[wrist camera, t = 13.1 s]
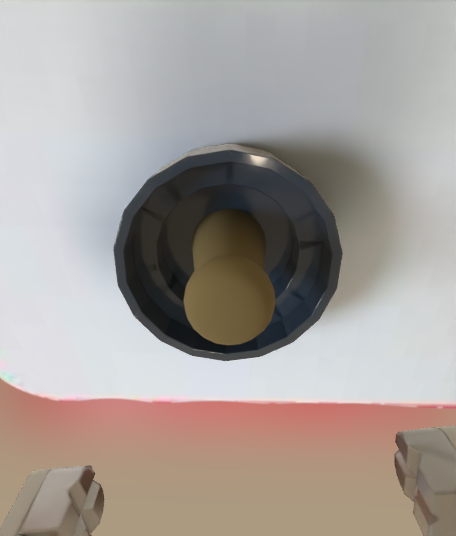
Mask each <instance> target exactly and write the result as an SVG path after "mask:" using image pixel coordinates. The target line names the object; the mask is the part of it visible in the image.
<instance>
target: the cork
mask: <svg viewBox="0 0 456 536" xmlns="http://www.w3.org/2000/svg"><path fill="white" fill-rule="evenodd" d="M192 251H193V261H194V270H195V271H194V272H193V274H192V276H191V277H190V279H189V281H188V283H187V285H186V289H185V295H184V306H185V311H186V316H187V319H188V320H189V322H190V324H191V325H192V327H193V329H194V330H196V331H197V332H198V333H199V334H200V335H201V336H202V337H204V338H205V339H207V340H210V341H212V342H214V343H216V344H222V345H238V344H242V343H245V342H247V341H250V340H252V339H253V338H255V337H256V336H257V335H259V334H260V333H261V332H263V331H264V330H265V328H266V327H267V325H268V324H269V323H270V321H271V319H272V315H273V312H274V308H275V291H274V288H273V285H272V283H271V281H270V279H269V277H268V275H267V274H266V273H265V272H264V264H265V252H266V240H265V234H264V232H263V229H262V227H261V225H260V224H259V223H258V222H257V221H256V219H255V218H254V217H253V216H251V215H249V214H247V213H246V212H244V211H241V210H236V209H231V208H230V209H221V210H217V211H215V212H212V213H210V214H208V215H207V216H206V217H205V218H203V219H202V220H201V221H200V222H199V223H198V225H197V227H196V229H195V231H194V233H193V239H192Z"/></svg>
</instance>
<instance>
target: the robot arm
mask: <svg viewBox="0 0 456 536" xmlns="http://www.w3.org/2000/svg"><path fill="white" fill-rule="evenodd" d="M395 442H396V444H397V446H398V448H399V450H398V451H397V452H396V453H395V468H396V473H397V477H398V479H399V482H400V485H401V487H402V490H403V492H404V494H405V495H406V496H407V497H409V498H410V499H411V500H412V501H414V510H413V514H414V516H415V518H416V520H417V522H418V525H419V527H420V529H421V531H422V533H423V535H424V536H456V426H447V427H440V428H437V427H433V428H426V429H417V430H409V431H401V432H398V433H397V434H396V441H395ZM94 475H95V472H94V470H93V468H92V467H91V466H79V467H66V468H54V469H43V470H34V472H32V473H31V474H30V475H29V476H28V478H27V480H26V482H25V484H24V485H23V487H22V489H21V491H20V493H19V494H18V496H17V498H16V500H15V502H14V504H13V505H12V507H11V509H10V511H9V513H8V515H7V517H6V518H5V520H4V522H3V524H2V526H1V528H0V536H91V533H92V532H93V530H94V529H95V528H96V527H97V526H98V525H99V523H100V520H101V517H102V513H103V507H104V494H103V490H102V487H101V485H100V484H99V483H97V482H96V481H94V480H93V478H94Z"/></svg>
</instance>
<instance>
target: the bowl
mask: <svg viewBox="0 0 456 536" xmlns="http://www.w3.org/2000/svg"><path fill="white" fill-rule="evenodd" d="M230 208H231V209H236V210H241V211H244V212H246V213H247V214H249V215H251V216H253V217H254V218H255V219H256V221H257V222H258V223H259V224H260V225H261V227H262V229H263V232H264V234H265V240H266V252H265V264H264V272H265V273H266V274H267V275H268V277H269V279H270V281H271V283H272V285H273V288H274V291H275V308H274V312H273V315H272V319H271V321H270V323H269V324H268V325H267V327H266V328H265V330H264V331H263V332H261V333H260V334H259V335H257V336H256V337H255V338H253V339H252V340H250V341H247V342H245V343H242V344H238V345H222V344H216V343H214V342H212V341H210V340H207V339H205V338H204V337H202V336H201V335H200V334H199V333H198V332H197V331H196V330H194V329H193V327H192V325H191V324H190V322H189V320H188V319H187V316H186V311H185V306H184V295H185V289H186V285H187V283H188V281H189V279H190V277H191V276H192V274H193V272H194V271H195V270H194V261H193V251H192V239H193V233H194V231H195V229H196V227H197V225H198V223H199V222H200V221H201V220H202V219H203V218H205V217H206V216H207V215H208V214H210V213H212V212H215V211H217V210H221V209H230ZM114 257H115V265H116V274H117V282H118V286H119V288H120V290H121V292H122V294H123V296H124V298H125V300H126V302H127V304H128V306H129V307H130V309H131V311H132V313H133V315H134V316H135V318H137V319H138V320H139V321H140V322H141V323H142V324H143V325H144V326H145V327H146V328H147V329H148V330H149V331H150V332H151V333H152V334H154V335H155V336H156V337H157V338H158V339H159V340H160V341H162V342H164V343H166V344H168V345H170V346H173V347H175V348H177V349H179V350H181V351H183V352H185V353H187V354H189V355H192V356H197V357H204V358H210V359H216V360H222V361H230V360H238V359H246V358H254V357H260V356H263V355H265V354H268V353H270V352H272V351H274V350H277V349H279V348H281V347H284V346H286V345H288V344H290V343H292V342H294V341H295V340H296V339H297V338H298V337H300V336H301V335H302V334H303V333H304V332H305V331H306V330H308V329H309V328H310V327H311V326H312V325H313V324H314V323H316V322H317V321H318V320H319V319H320V317H321V315H322V314H323V312H324V310H325V308H326V307H327V305H328V303H329V301H330V300H331V298H332V296H333V294H334V293H335V291H336V288H337V284H338V278H339V272H340V266H341V260H342V248H341V244H340V239H339V235H338V230H337V226H336V221H335V217H334V215H333V213H332V211H331V210H330V209H329V207H328V206H327V204H326V203H325V201H324V200H323V199H322V197H321V196H320V194H319V193H318V191H317V190H316V189H315V187H314V186H313V184H312V183H311V182H310V181H309V180H308V179H306V178H305V177H304V176H303V175H301V174H300V173H299V172H298V171H297V170H295V169H294V168H292V167H291V166H289V165H288V164H286V163H285V162H283V161H281V160H280V159H278V158H277V157H275V156H274V155H272V154H271V153H269V152H268V151H265V150H260V149H256V148H251V147H246V146H241V145H236V144H232V143H230V144H229V143H228V144H222V145H216V146H210V147H204V148H198V149H194V150H191V151H189V152H188V153H186V154H184V155H183V156H181V157H179V158H177V159H176V160H174V161H172V162H171V163H169V164H167V165H166V166H164V167H162V168H161V169H160V170H159V171H158V172H156V173H155V174H154V175H153V176H152V177H150V178H149V179H148V180H147V181H146V183H145V184H144V185H143V187H142V188H141V189H140V190H139V192H138V193H137V194H136V196H135V197H134V198H133V200H132V201H131V202H130V203H129V205H128V206H127V207H126V209H125V210H124V212H123V215H122V219H121V222H120V226H119V230H118V233H117V237H116V241H115V244H114Z"/></svg>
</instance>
